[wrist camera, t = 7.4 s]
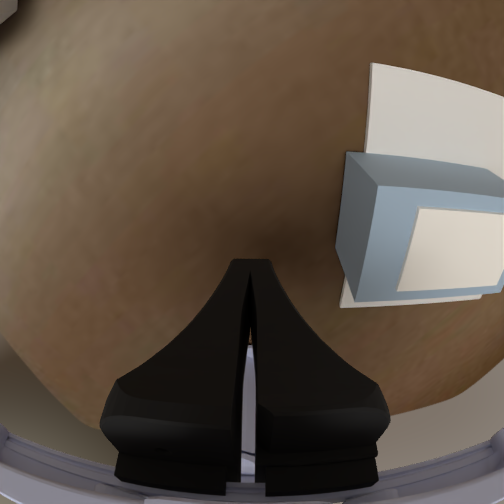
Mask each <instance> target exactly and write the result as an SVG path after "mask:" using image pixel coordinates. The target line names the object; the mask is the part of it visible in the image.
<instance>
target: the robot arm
mask: <svg viewBox="0 0 504 504" xmlns="http://www.w3.org/2000/svg"><path fill="white" fill-rule="evenodd" d="M250 327H251V337H252V345H248V343H249V335H250ZM389 423H390V413H389V409H388V406H387V403H386V401H385V399H384V396H383V394H382V392H381V390H380V387H379V385H378V384H377V383H376V382H374V381H373V380H371V379H370V378H368V377H366V376H365V375H363V374H362V373H360V372H359V371H357V370H356V369H354V368H353V367H352V366H350V365H349V364H348V363H347V362H345V361H344V360H343V359H342V358H341V357H340V356H338V355H337V354H336V353H335V352H334V351H333V350H332V349H331V348H330V347H329V346H328V345H326V344H325V343H324V342H323V341H322V340H321V339H320V337H319V336H318V335H317V334H316V333H315V332H314V331H313V330H312V329H311V327H310V326H309V325H308V324H307V323H306V322H305V320H304V319H303V318H302V316H301V315H300V314H299V312H298V311H297V309H296V308H295V307H294V305H293V304H292V302H291V301H290V299H289V298H288V296H287V294H286V292H285V291H284V289H283V287H282V286H281V284H280V282H279V280H278V278H277V276H276V274H275V271H274V269H273V266H272V263H271V261H270V260H269V259H233V260H232V261H231V262H230V265H229V267H228V269H227V271H226V273H225V275H224V277H223V279H222V280H221V282H220V284H219V285H218V287H217V288H216V290H215V291H214V293H213V294H212V296H211V297H210V299H209V300H208V301H207V303H206V304H205V305H204V307H203V308H202V309H201V311H200V312H199V313H198V314H197V315H196V317H195V318H194V319H193V320H192V321H191V322H190V323H189V324H188V326H187V327H186V328H185V329H184V330H183V331H182V332H181V333H180V334H179V335H177V336H176V337H175V338H174V339H173V340H172V341H171V342H170V343H169V344H168V345H167V346H165V347H164V348H163V349H162V350H160V351H159V352H158V353H156V354H155V355H154V356H153V357H151V358H150V359H149V360H147V361H146V362H145V363H143V364H142V365H140V366H139V367H137V368H135V369H134V370H132V371H131V372H129V373H127V374H126V375H124V376H122V377H121V378H119V379H117V380H116V381H115V383H114V385H113V388H112V390H111V391H110V394H109V396H108V398H107V400H106V404H105V407H104V410H103V413H102V416H101V419H100V428H101V430H102V432H103V433H104V435H105V436H106V437H107V439H108V440H109V441H110V442H111V443H112V444H113V445H114V446H115V448H116V449H117V450H118V451H119V454H118V459H117V463H116V467H114V466H110V465H106V464H102V463H98V462H94V461H90V460H86V459H83V458H80V457H76V456H73V455H70V454H66V453H63V452H60V451H57V450H54V449H51V448H48V447H46V446H43V445H40V444H37V443H35V442H32V441H30V440H27V439H25V438H22V437H20V436H17V435H15V434H12V433H10V432H8V430H7V429H6V428H5V427H4V426H3V425H2V424H1V423H0V494H1V495H3V496H5V497H7V498H8V499H10V500H12V501H14V502H16V503H18V504H332V503H337V502H343V503H342V504H496V503H498V502H499V501H501V500H503V499H504V428H502V429H501V430H499V431H498V432H497V433H496V434H494V435H493V436H492V437H491V439H490V440H488V441H485V442H483V443H480V444H478V445H475V446H472V447H469V448H466V449H464V450H461V451H458V452H455V453H452V454H448V455H445V456H442V457H439V458H435V459H431V460H428V461H424V462H420V463H416V464H413V465H409V466H404V467H400V468H395V469H390V470H386V471H381V472H378V471H377V466H376V460H375V457H377V455H378V451H377V445H376V441H377V440H378V439H379V438H380V436H381V435H382V434H383V433H384V431H385V430H386V429H387V427H388V425H389Z"/></svg>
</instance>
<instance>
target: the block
mask: <svg viewBox="0 0 504 504" xmlns="http://www.w3.org/2000/svg"><path fill="white" fill-rule="evenodd" d="M335 249H336V251H337V254H338V257H339V260H340V262H341V265H342V268H343V271H344V273H345V276H346V279H347V282H348V285H349V287H350V290H351V293H352V296H353V299H354V302H375V301H395V300H413V299H428V298H443V297H456V296H468V295H479V294H489V293H499V292H501V289H502V287H503V285H504V180H503V179H501V178H500V177H498V176H497V175H495V174H494V173H492V172H491V171H489V170H488V169H485V168H480V167H474V166H468V165H462V164H456V163H450V162H443V161H436V160H428V159H421V158H413V157H404V156H395V155H384V154H373V153H361V152H347V151H346V162H345V172H344V182H343V191H342V199H341V207H340V215H339V223H338V230H337V237H336V244H335Z"/></svg>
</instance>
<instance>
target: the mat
mask: <svg viewBox="0 0 504 504" xmlns="http://www.w3.org/2000/svg"><path fill="white" fill-rule="evenodd" d="M364 153H373V154H384V155H395V156H404V157H413V158H421V159H428V160H436V161H443V162H450V163H456V164H462V165H468V166H474V167H480V168H485V169H488V170H489V171H491V172H492V173H494V174H495V175H497V176H498V177H500V178H501V179H503V180H504V97H502V96H499V95H496V94H494V93H491V92H488V91H485V90H482V89H479V88H476V87H473V86H470V85H467V84H463V83H460V82H457V81H453V80H450V79H446V78H442V77H439V76H435V75H431V74H427V73H422V72H418V71H413V70H409V69H404V68H399V67H394V66H388V65H383V64H377V63H370V77H369V95H368V110H367V123H366V134H365V144H364ZM481 295H482V294H479V295H468V296H456V297H443V298H428V299H413V300H395V301H375V302H354V299H353V296H352V293H351V290H350V287H349V285H348V282H347V279H346V276H345V278H344V283H343V288H342V293H341V298H340V303H339V305H340V308H352V307H375V306H394V305H410V304H424V303H437V302H450V301H461V300H472V299H480V298H481Z"/></svg>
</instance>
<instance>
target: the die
mask: <svg viewBox="0 0 504 504" xmlns="http://www.w3.org/2000/svg"><path fill="white" fill-rule="evenodd" d="M17 3H18V0H0V24H1V23H2V22H4V21H5V20H6V19H7V18H8V17H10V16H11V15H12V14H13V13H15V12H16V11H17Z"/></svg>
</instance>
